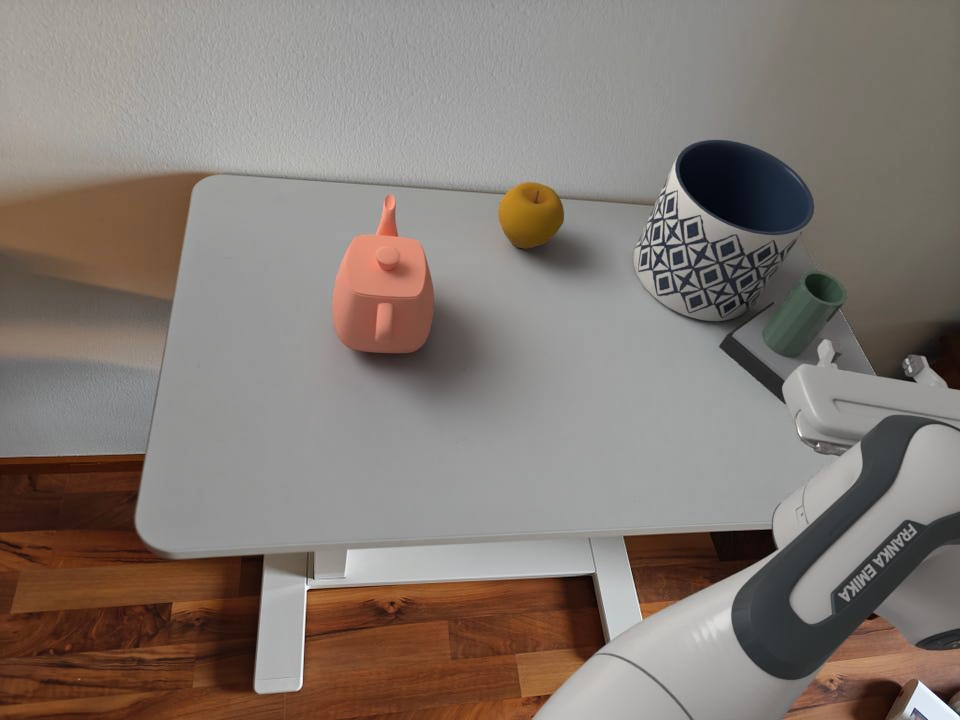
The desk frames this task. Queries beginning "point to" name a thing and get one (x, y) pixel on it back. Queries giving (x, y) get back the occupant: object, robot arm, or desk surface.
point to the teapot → (383, 291)
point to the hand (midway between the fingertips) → (870, 351)
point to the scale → (765, 352)
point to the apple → (530, 214)
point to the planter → (721, 229)
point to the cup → (804, 313)
